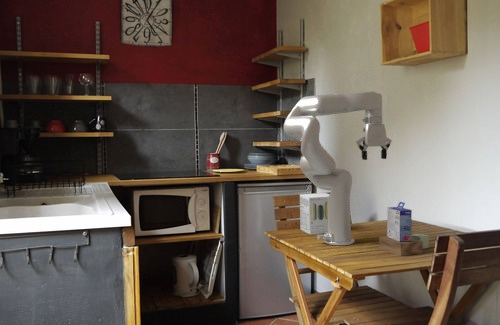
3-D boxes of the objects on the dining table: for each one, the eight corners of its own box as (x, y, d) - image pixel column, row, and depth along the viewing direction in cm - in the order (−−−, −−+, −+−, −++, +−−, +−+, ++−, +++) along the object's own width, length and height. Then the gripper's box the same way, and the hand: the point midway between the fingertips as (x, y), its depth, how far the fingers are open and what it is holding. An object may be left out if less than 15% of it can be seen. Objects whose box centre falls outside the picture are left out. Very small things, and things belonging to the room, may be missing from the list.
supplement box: (309, 234, 238) (308, 197, 237) (300, 229, 251) (299, 194, 250) (336, 232, 241) (335, 195, 240) (325, 227, 254) (324, 192, 253)
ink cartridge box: (412, 241, 197) (412, 203, 196) (399, 242, 196) (399, 204, 195) (399, 236, 207) (398, 200, 206) (386, 237, 206) (386, 201, 205)
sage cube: (420, 249, 203) (420, 236, 203) (410, 247, 208) (410, 235, 207) (429, 247, 206) (428, 235, 206) (419, 245, 210) (418, 233, 210)
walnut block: (400, 257, 194) (400, 244, 193) (379, 249, 207) (379, 237, 207) (422, 254, 197) (422, 241, 197) (400, 246, 210) (399, 234, 210)
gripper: (360, 121, 225) (361, 160, 226) (395, 120, 229) (395, 158, 230) (352, 121, 232) (353, 159, 233) (386, 120, 237) (386, 158, 238)
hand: (374, 159), depth 232 cm, fingers open, 9 cm apart
